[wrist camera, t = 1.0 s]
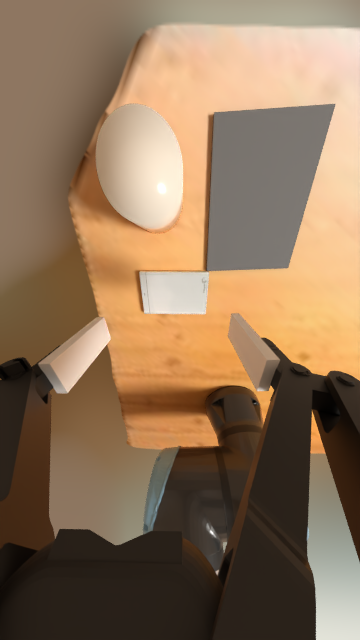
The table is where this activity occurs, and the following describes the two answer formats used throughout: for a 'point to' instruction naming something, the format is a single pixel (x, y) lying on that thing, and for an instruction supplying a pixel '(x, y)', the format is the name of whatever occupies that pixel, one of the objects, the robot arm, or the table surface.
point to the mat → (261, 183)
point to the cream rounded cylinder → (141, 167)
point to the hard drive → (174, 292)
